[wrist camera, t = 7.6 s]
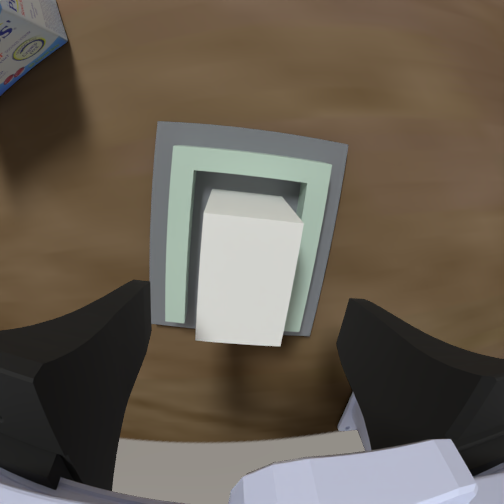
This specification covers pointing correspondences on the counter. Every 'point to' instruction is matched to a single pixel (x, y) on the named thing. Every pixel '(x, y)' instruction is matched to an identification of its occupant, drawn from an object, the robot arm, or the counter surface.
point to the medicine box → (27, 36)
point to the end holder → (243, 180)
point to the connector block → (246, 268)
